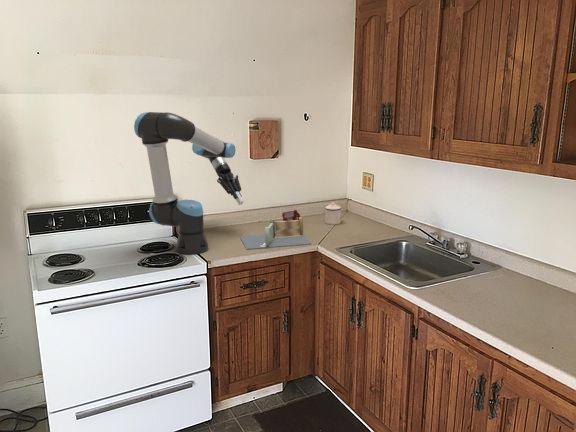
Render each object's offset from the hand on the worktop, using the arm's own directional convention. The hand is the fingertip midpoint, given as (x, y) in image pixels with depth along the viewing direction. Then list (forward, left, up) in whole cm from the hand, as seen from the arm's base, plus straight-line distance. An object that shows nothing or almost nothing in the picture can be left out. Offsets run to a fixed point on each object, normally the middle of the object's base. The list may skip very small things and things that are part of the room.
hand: (241, 203), depth 260 cm
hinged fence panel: (+11, -19, -16) cm, 27 cm away
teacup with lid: (+53, +12, -17) cm, 57 cm away
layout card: (+14, -14, -17) cm, 26 cm away
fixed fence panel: (+21, -10, -17) cm, 29 cm away
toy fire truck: (+28, +4, -17) cm, 33 cm away
